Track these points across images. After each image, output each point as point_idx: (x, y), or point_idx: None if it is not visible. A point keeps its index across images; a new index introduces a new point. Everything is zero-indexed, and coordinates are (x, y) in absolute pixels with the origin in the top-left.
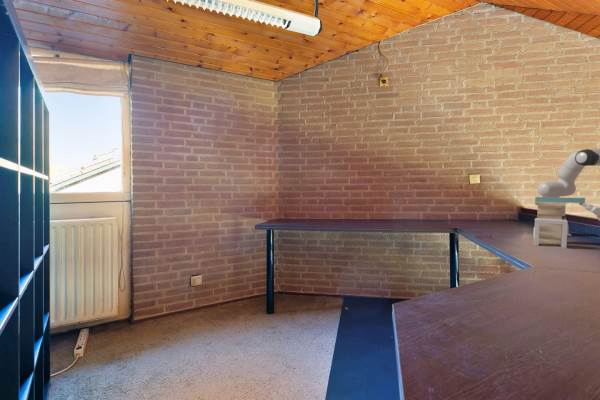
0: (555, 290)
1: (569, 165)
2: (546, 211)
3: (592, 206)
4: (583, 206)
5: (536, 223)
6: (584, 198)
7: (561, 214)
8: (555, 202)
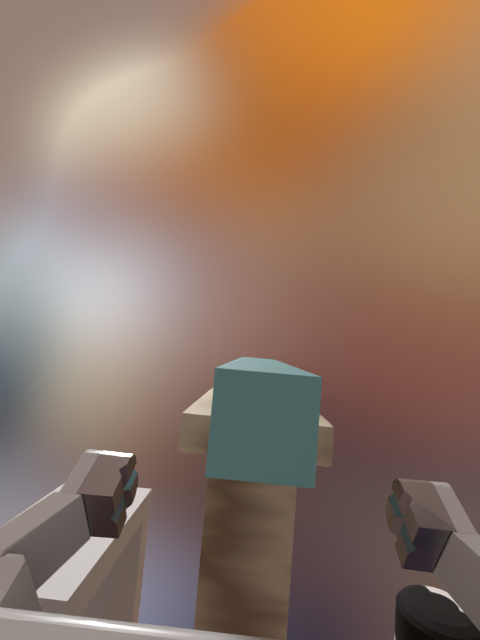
0: None
1: None
2: None
3: (25, 615)
4: (468, 614)
5: None
6: (217, 375)
7: (202, 546)
8: (205, 401)
